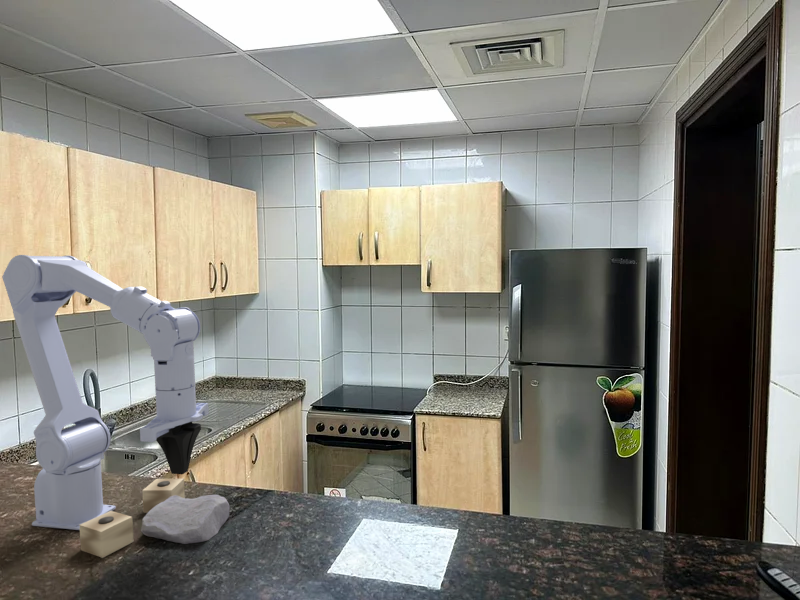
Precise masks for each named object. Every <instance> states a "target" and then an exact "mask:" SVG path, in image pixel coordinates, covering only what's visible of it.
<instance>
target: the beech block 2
mask: <svg viewBox="0 0 800 600" xmlns="http://www.w3.org/2000/svg"><path fill="white" fill-rule="evenodd" d="M185 489H186V488H185V478H156V479H154V480H153V481H152V482H150V484H148V485H147V486H146V487H144V488H143V489H142V490H141V491H142V510H143V511H142V512H143V514H147V513H148V512H149V511H150V510H151V509H152V508H154V507H155V506H156V505H158V504H159V503H161V502H164V501H165V500H166V499H168V498H169V497H171V496H174V495H177V496H179V497H181V498H186V494H185Z"/></svg>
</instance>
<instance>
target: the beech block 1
mask: <svg viewBox="0 0 800 600" xmlns="http://www.w3.org/2000/svg"><path fill="white" fill-rule="evenodd" d="M133 522H134V521H133V516H130V515H127V514H125V513H124V514H123V513H121V512H116V511H115V510H112V511H109V512H107V513H105V514H103V515H100V516H98V517H96V518H94V519H91V520H89V521H87V522H85V523H82V524H80V525H79V526H80V530H79V536H80V537H79V540H80V551H82V552H85V553H88V554H91V555H94V556H97V557H100V558H101V559H103V558H105V557H107V556H109V555H111V554H112V553H115V552H116V551H119V550H120V549H122V548H124V547H126V546H128V545H130V544H131V543H134V524H133Z"/></svg>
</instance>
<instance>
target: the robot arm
mask: <svg viewBox="0 0 800 600" xmlns="http://www.w3.org/2000/svg"><path fill="white" fill-rule="evenodd" d="M5 268H6V269H5V270H4V272H3V274H2V277H1V278H2V281H3V284H4V287H5V289H6V294H7V297H8V300H9V302H10V305H11V308H12V313H13V318H14V321H15V324H16V327H17V330H18V333H19V336H20V339H21V342H22V345H23V349H24V351H25V355H26V359H27V361H28V364H29V367H30V371H31V373H32V377H33V379H34V383H35V386H36V389H37V392H38V396H39V399H40V401H41V404H42V408H43V410H44V415H45V416H44V417H43V418H42V420H41V421H40V422H39V424H38V425H37V426H36V428H35V429H34V431H33V435H34V439H35V457H36V460H37V462H38V464H39V465H40V467H41V468H42V469H41V470H39V472H38V474H37V475H36V478H35V481H34V487H33V492H34V503H35V504H34V505H35V520H34V521H32V522H31V526H32V527H43V528H53V529H62V530H63V529H66V530H75V531H80V526H79V525H80V524H82V523H85V522H87V521H89V520H91V519H94V518H96V517H98V516H100V515H103V514H105V513H107V512H109V511H115V509H116V508H117V506H116V505H115V504H114V505H112V504H104V498H103V495H104V494H103V480H102V479H103V476H102V464H101V463H102V460H104V459H105V454H104V453H105V452H107V450H108V449H109V447H110V445H111V438H112V437H111V433H110V429H109V427H108V426H107V424H105V423H104V421H103V420H102V418H101V415H100V413H99V410H98V409H96V408H94V407H92V406H90V405H87V404H85V403H84V402H83V399H82V396H81V393H80V391H79V390H80V389H79V387H78V384H77V381H76V377H75V375H74V370H73V369H72V365H71V361H70V359H69V356H68V351H67V350H66V347H65V346H66V345H65V343H64V340H63V338H62V333H61V331H60V328H59V324H58V321H57V319H56V314H57V312H58V311H59V309H60V308H62V307H63V306H64V305H65V304H66V303H67V302H68V301H69V300H70V299H71V298H72V297H73V296H74V294H75V293H76V292H77V293H79V294H81V295H83V296H85V297H88V298H90V299H92V300H94V301H96V302H99V303H100V304H102V305H105V306H107V307H108V308H110V314H111V316H112V317H113V318H114V319H115V320H117V321H119V322H121V323H123V324H124V325H126V326H128V327H130V328H131V329H133V330H135V331H137V332H138V333H140V334H143V338H144V340H145V342H146V344H148V347H149V349H150V357H152V359H153V368H154V370H153V371H154V384H155V385H154V387H155V389H154V390H155V391H154V392H155V405H156V407H155V408H156V416H154V418H152V419H151V420H150V421H148V423H147V424H146V425H144V426H142V427H140V428H139V438H140V439H139V440H140V442H145V443H148V442H149V443H153V442H157V443H158V445H159V446H160V448H161V450H162V451H163V453H164V454H163V455H164V456H165V458H166V462H167V464H168V467H169V471H170V473H171V475H172V474H173V475H184V474H186V473H187V472H188V471H189V468H190V467H189V466H190V462H191V458H192V453H193V450H194V446H195V442H196V440H197V438H198V436H199V434H200V432H201V430H202V424H201V423H197V422H198V421H201V420H202V419H204V418H203V417H206V416H208V415H209V414H210V412H209V411H210V410H209V402H208V403H207V402H197V398H196V397H197V395H196V375H195V374H196V372H195V371H196V370H195V351H194V348H195V347H194V342H195V341H196V340H197V339H198V338H199V336H200V333H201V322H200V319H199V317H198V315H197V314H196V313H195V312H194V311H192V310H191V308H190V307H186V306H181V307H178V308H175V307H173V306H172V305H171V302H170V301H167V300H161V299H159V298H157V297H155V296H153V295H151V294H149V293H147V292H148V289H147V288H145V287H144V286H141V285H140V286H128V287H125V288H122V287H121V286H119V285H118V284H116V283H115V282H113V281H111V280H110V279H108V278H107V277H105V276H104V275H102V274H100V273H98V272H97V271H95V270H94V269H92V268H90V267H89V266H88V265H87V262H86V261H83V260H81V259H78V258H77V257H75V256H72V255H62V256H59V255H57V256H56V255H55V256H53V255H51V256H50V255H29V254H17V255H15V256H14V257H12V258H11V259H10V260H9V262H8V264H7V266H6V267H5ZM195 422H196V423H195ZM70 424H73V425H72V426H70V427H67V428H64V427H66V426H68V425H70ZM63 428H64V429H63Z"/></svg>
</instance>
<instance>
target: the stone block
mask: <svg viewBox="0 0 800 600" xmlns="http://www.w3.org/2000/svg"><path fill="white" fill-rule="evenodd" d="M229 517H230V504H229V502H228V500H227V498H226V497H225V496H222V495H219V494H209V495H201V496H198V497H195V498H194V497H193V498H189V497H187V498H186V497H185V498H181V497H179V496H177V495H174V496H171V497H169V498H168V499H166V500H165V501H164V502H161V503H159V504H158V505H156V506H155V507H154V508H152V509H151V510H150V511H149V512H148V513H145V515H144V516H143V517H142V519H141V520H142V521H141V528H140V531H141V533H142V534H143V535H144V536H147V537H152V538H155V539H162V540H165V541H168V542H173V543H179V544H183V545H186V544H194V543H195V544H197V543H202V542H207V541H209V540H211V539H212V538H213V537H214V536H216V535H217V534H218V533H219V531H220V529H221V527H222V526H224V524H225V523H226V522H227V520H228V519H229Z"/></svg>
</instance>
